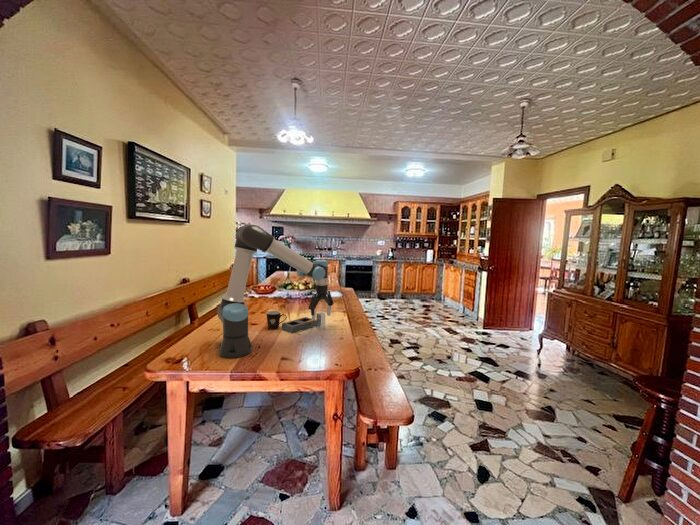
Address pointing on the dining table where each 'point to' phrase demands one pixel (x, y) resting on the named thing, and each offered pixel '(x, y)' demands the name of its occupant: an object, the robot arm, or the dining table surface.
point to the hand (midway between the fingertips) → (321, 317)
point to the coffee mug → (274, 319)
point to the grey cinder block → (298, 325)
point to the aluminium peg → (320, 321)
